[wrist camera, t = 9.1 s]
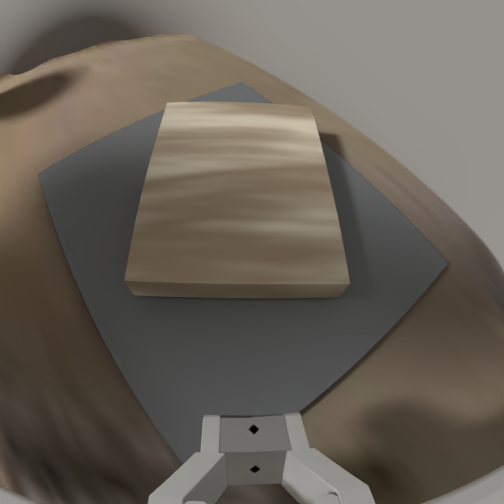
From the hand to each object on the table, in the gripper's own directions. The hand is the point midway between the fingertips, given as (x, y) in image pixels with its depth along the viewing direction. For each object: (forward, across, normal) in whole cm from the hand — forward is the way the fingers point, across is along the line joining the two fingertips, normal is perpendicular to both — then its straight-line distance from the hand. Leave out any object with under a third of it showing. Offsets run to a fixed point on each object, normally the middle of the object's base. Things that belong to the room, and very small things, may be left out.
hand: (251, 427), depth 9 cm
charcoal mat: (+15, +1, -5) cm, 15 cm away
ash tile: (+9, 0, -1) cm, 9 cm away
